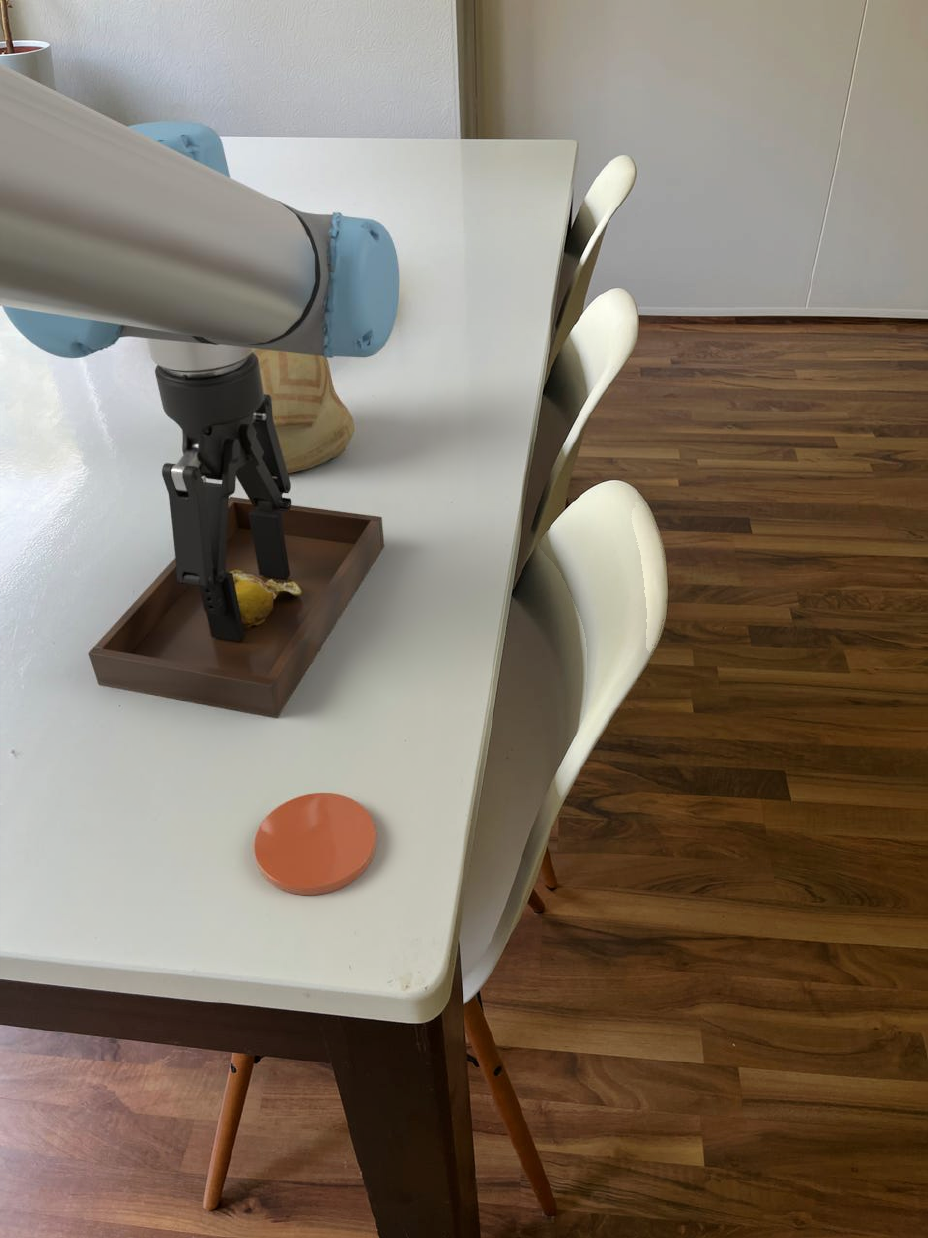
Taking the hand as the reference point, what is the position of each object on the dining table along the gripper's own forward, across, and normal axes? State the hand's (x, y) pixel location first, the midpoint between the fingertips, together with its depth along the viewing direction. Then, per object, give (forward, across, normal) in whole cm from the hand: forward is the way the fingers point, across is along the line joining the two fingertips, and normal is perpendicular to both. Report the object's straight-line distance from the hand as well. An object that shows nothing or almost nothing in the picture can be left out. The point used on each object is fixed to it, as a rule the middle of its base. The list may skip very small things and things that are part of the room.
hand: (252, 604), depth 86 cm
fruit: (0, +1, 0) cm, 1 cm away
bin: (+1, 0, 0) cm, 1 cm away
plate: (+1, -23, -16) cm, 28 cm away
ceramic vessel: (+1, +28, +10) cm, 30 cm away
